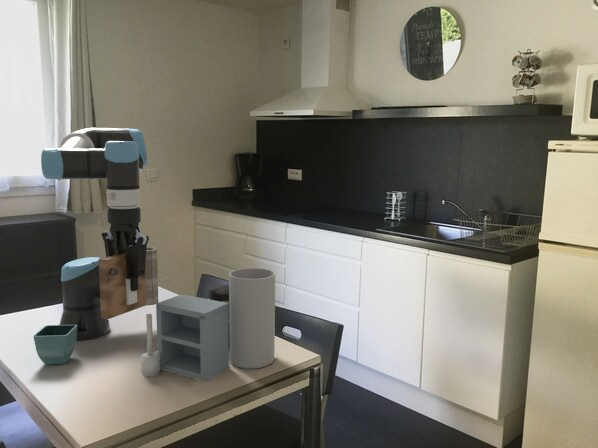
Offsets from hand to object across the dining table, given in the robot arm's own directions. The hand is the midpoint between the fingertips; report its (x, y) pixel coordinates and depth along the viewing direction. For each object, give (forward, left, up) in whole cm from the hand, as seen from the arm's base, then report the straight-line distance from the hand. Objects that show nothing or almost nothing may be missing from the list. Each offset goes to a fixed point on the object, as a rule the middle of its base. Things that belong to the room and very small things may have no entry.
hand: (127, 302), depth 127 cm
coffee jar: (+5, +32, -22) cm, 39 cm away
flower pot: (-28, 0, -22) cm, 35 cm away
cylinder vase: (+18, +27, -22) cm, 39 cm away
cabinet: (+7, +13, -21) cm, 26 cm away
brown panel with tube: (0, +1, -2) cm, 2 cm away
